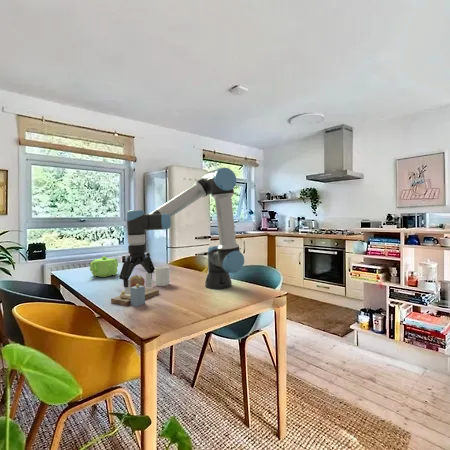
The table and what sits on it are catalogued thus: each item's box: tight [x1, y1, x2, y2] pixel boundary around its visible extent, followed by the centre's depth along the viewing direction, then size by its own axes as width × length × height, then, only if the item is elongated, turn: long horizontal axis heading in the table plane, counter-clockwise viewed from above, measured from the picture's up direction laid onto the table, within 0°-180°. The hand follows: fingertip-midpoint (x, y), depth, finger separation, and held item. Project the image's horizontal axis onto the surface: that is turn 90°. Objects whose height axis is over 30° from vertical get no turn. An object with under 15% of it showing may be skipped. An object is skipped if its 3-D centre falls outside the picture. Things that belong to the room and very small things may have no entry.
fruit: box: [129, 274, 146, 287], centre depth 158 cm, size 8×8×8 cm
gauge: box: [119, 284, 146, 307], centre depth 135 cm, size 12×5×9 cm, turn 63°
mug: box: [151, 265, 171, 287], centre depth 169 cm, size 12×8×10 cm
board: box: [110, 287, 160, 307], centre depth 143 cm, size 10×22×2 cm, turn 153°
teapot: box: [89, 256, 119, 278], centre depth 195 cm, size 18×20×13 cm
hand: (138, 290), depth 133 cm, fingers open, 13 cm apart
